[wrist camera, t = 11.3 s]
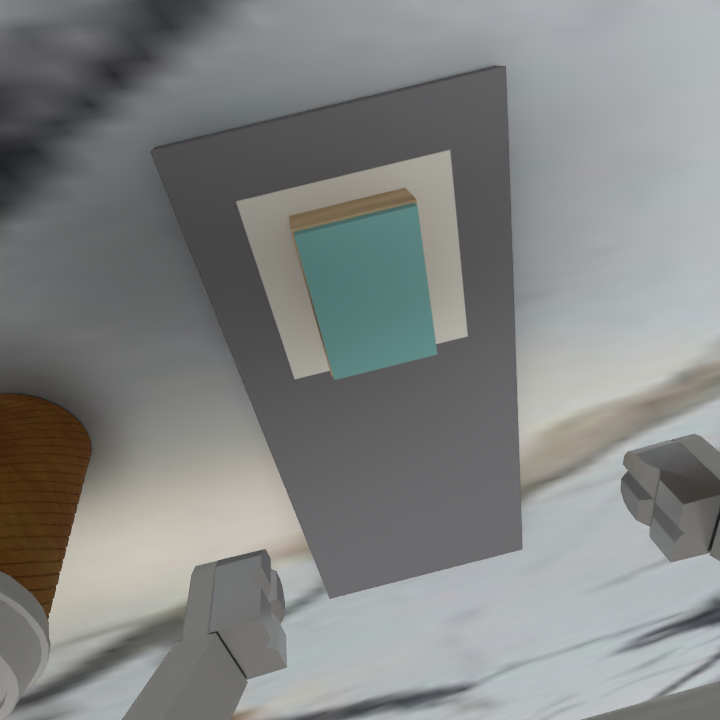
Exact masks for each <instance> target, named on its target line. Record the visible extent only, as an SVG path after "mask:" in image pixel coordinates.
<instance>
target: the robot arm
mask: <svg viewBox="0 0 720 720" xmlns="http://www.w3.org/2000/svg"><path fill="white" fill-rule="evenodd" d="M623 465H624V466H625V468H626V469H627V470H628V471H627V473H626V474H625V475H624V476H623V477H622V479H621V493H622V496H623V500H624V502H625V504H626V506H627V508H628V510H629V511H630V513H631V514H632V515H633V516H634V518H635V519H636V520H637V521H639V522H641V523H643V524H646V525H648V526H650V538H651V539H652V540H653V541H654V543H655V544H656V545H657V546H658V548H659V549H660V550H661V551H662V553H663V554H664V555H665V556H666V557H667V559H668V560H669V561H670V562H674V561H678V560H683V559H687V558H691V557H695V556H699V555H703V554H707V553H710V556H712V557H714V558H716V559H717V560H719V561H720V452H719V451H717V450H716V449H715V448H714V447H713V446H712V445H710V444H709V443H708V442H707V441H706V440H705V439H703V438H702V437H701V436H699V435H696V434H692V435H688V436H684V437H680V438H677V439H673V440H667V441H664V442H660V443H657V444H653V445H650V446H646V447H643V448H639V449H635V450H632V451H628V452H627V453H626V454H625V456H624V461H623ZM284 617H285V600H284V594H283V588H282V585H281V581H280V578H279V576H278V574H277V571H275V570H273V569H271V560H270V557H269V555H268V553H267V551H266V549H265V550H259V551H255V552H251V553H247V554H243V555H239V556H234V557H230V558H226V559H222V560H218V561H214V562H210V563H206V564H202V565H198V566H195V568H194V570H193V573H192V575H191V582H190V588H189V595H188V602H187V608H186V615H185V621H184V628H183V635H182V641H181V642H179V643H176V644H174V645H173V647H172V648H171V650H170V651H169V652H168V654H167V655H166V657H165V658H164V660H163V661H162V663H161V664H160V665H159V667H158V668H157V670H156V671H155V673H154V674H153V676H152V677H151V678H150V680H149V681H148V683H147V684H146V686H145V687H144V689H143V690H142V691H141V693H140V694H139V696H138V697H137V699H136V700H135V702H134V703H133V704H132V706H131V707H130V709H129V710H128V712H127V713H126V715H125V716H124V717H123V719H122V720H231V718H232V715H233V713H234V711H235V709H236V707H237V704H238V702H239V700H240V698H241V696H242V694H243V691H244V689H245V687H246V685H247V683H248V682H247V679H251V678H254V677H257V676H261V675H264V674H267V673H270V672H274V671H277V670H280V669H283V668H287V655H286V635H285V633H284V631H283V629H282V627H281V625H280V624H281V622H282V620H283V618H284ZM582 720H720V681H717V682H714V683H710V684H707V685H703V686H700V687H696V688H693V689H689V690H685V691H682V692H678V693H675V694H671V695H668V696H664V697H661V698H657V699H653V700H650V701H646V702H643V703H639V704H636V705H632V706H629V707H625V708H622V709H618V710H614V711H611V712H607V713H604V714H600V715H597V716H593V717H590V718H586V719H582Z"/></svg>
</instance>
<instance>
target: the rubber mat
mask: <svg viewBox="0 0 720 720" xmlns="http://www.w3.org/2000/svg"><path fill="white" fill-rule="evenodd" d="M151 154H152V156H153V159H154V161H155V164H156V166H157V169H158V171H159V174H160V176H161V179H162V181H163V184H164V186H165V189H166V191H167V194H168V196H169V199H170V201H171V204H172V206H173V209H174V211H175V214H176V216H177V219H178V221H179V224H180V226H181V229H182V231H183V234H184V236H185V239H186V241H187V244H188V246H189V249H190V251H191V254H192V256H193V259H194V261H195V264H196V266H197V269H198V271H199V274H200V276H201V279H202V281H203V284H204V286H205V289H206V291H207V294H208V296H209V299H210V301H211V304H212V306H213V308H214V311H215V313H216V316H217V318H218V321H219V323H220V326H221V328H222V331H223V333H224V336H225V338H226V341H227V343H228V346H229V348H230V351H231V353H232V356H233V358H234V361H235V363H236V366H237V368H238V371H239V373H240V376H241V378H242V381H243V383H244V386H245V388H246V391H247V393H248V396H249V398H250V401H251V403H252V406H253V408H254V411H255V413H256V416H257V418H258V421H259V423H260V426H261V428H262V431H263V433H264V436H265V438H266V441H267V443H268V446H269V448H270V451H271V453H272V456H273V458H274V461H275V463H276V466H277V468H278V471H279V473H280V476H281V478H282V481H283V483H284V486H285V488H286V491H287V493H288V496H289V498H290V500H291V503H292V505H293V508H294V510H295V513H296V515H297V518H298V520H299V523H300V525H301V528H302V530H303V533H304V535H305V538H306V540H307V543H308V545H309V548H310V550H311V553H312V555H313V558H314V560H315V563H316V565H317V568H318V570H319V573H320V575H321V578H322V580H323V583H324V585H325V588H326V590H327V593H328V595H329V598H330V599H331V598H335V597H339V596H342V595H346V594H350V593H354V592H358V591H362V590H366V589H370V588H374V587H377V586H381V585H385V584H389V583H393V582H397V581H401V580H405V579H409V578H412V577H416V576H420V575H424V574H428V573H432V572H436V571H440V570H444V569H448V568H451V567H455V566H459V565H463V564H467V563H471V562H475V561H479V560H483V559H486V558H490V557H494V556H498V555H502V554H506V553H510V552H514V551H518V550H522V522H521V493H520V463H519V434H518V405H517V376H516V347H515V318H514V289H513V260H512V230H511V201H510V172H509V143H508V114H507V85H506V66H494V67H490V68H485V69H481V70H477V71H473V72H469V73H464V74H460V75H456V76H452V77H448V78H444V79H439V80H435V81H431V82H427V83H423V84H419V85H414V86H410V87H406V88H402V89H398V90H394V91H389V92H385V93H381V94H377V95H373V96H368V97H364V98H360V99H356V100H352V101H348V102H343V103H339V104H335V105H331V106H327V107H323V108H318V109H314V110H310V111H306V112H302V113H297V114H293V115H289V116H285V117H281V118H277V119H272V120H268V121H264V122H260V123H256V124H252V125H247V126H243V127H239V128H235V129H231V130H226V131H222V132H218V133H214V134H210V135H206V136H201V137H197V138H193V139H189V140H185V141H181V142H176V143H172V144H168V145H164V146H160V147H156V148H154V149H153V150H152V151H151ZM402 188H406V189H407V190H408V191H409V192H410V193H411V194H412V195H413V196H414V197H415V198H416V200H417V206H418V214H419V221H420V229H421V236H422V243H423V251H424V258H425V266H426V273H427V280H428V288H429V295H430V303H431V310H432V317H433V325H434V332H435V340H436V347H437V355H433V356H429V357H425V358H421V359H417V360H413V361H409V362H405V363H401V364H397V365H393V366H389V367H385V368H381V369H377V370H373V371H369V372H365V373H361V374H357V375H353V376H349V377H345V378H341V379H337V380H334V378H333V376H331V373H330V369H329V366H328V362H327V359H326V355H325V351H324V348H323V344H322V341H321V337H320V334H319V330H318V326H317V323H316V319H315V316H314V312H313V309H312V305H311V301H310V298H309V294H308V291H307V287H306V284H305V280H304V276H303V273H302V269H301V266H300V262H299V259H298V255H297V251H296V248H295V244H294V241H293V237H292V234H291V230H290V219H289V216H290V215H295V214H299V213H303V212H307V211H311V210H315V209H319V208H323V207H327V206H332V205H336V204H340V203H344V202H348V201H352V200H356V199H360V198H365V197H369V196H373V195H377V194H381V193H385V192H389V191H393V190H398V189H402Z"/></svg>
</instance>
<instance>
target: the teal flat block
mask: <svg viewBox="0 0 720 720" xmlns="http://www.w3.org/2000/svg"><path fill="white" fill-rule="evenodd" d="M289 219H290V230H291V234H292V237H293V241H294V244H295V248H296V251H297V255H298V259H299V262H300V266H301V269H302V273H303V276H304V280H305V284H306V287H307V291H308V294H309V298H310V301H311V305H312V309H313V312H314V316H315V319H316V323H317V326H318V330H319V334H320V337H321V341H322V344H323V348H324V351H325V355H326V359H327V362H328V366H329V369H330V373H331V376H333V378H334V380H337V379H341V378H345V377H349V376H353V375H357V374H361V373H365V372H369V371H373V370H377V369H381V368H385V367H389V366H393V365H397V364H401V363H405V362H409V361H413V360H417V359H421V358H425V357H429V356H433V355H437V347H436V340H435V332H434V325H433V317H432V310H431V303H430V295H429V288H428V280H427V273H426V266H425V258H424V251H423V243H422V236H421V229H420V221H419V214H418V206H417V200H416V198H415V197H414V196H413V195H412V194H411V193H410V192H409V191H408V190H407V189H406V188H402V189H398V190H393V191H389V192H385V193H381V194H377V195H373V196H369V197H365V198H360V199H356V200H352V201H348V202H344V203H340V204H336V205H332V206H327V207H323V208H319V209H315V210H311V211H307V212H303V213H299V214H295V215H290V216H289Z"/></svg>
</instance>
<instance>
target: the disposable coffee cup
mask: <svg viewBox="0 0 720 720" xmlns="http://www.w3.org/2000/svg"><path fill="white" fill-rule="evenodd" d="M91 449H92V448H91V443H90V438H89V436H88V434H87V432H86V430H85V429H84V427H83V426H82V425H81V423H80V422H79V421H78V420H77V419H76V418H75V417H73V416H72V415H71V414H70V413H69V412H67V411H66V410H64V409H63V408H61V407H60V406H58V405H55V404H53V403H51V402H48V401H46V400H44V399H40V398H36V397H33V396H28V395H22V394H0V720H3V719H4V718H5V717H6V716H7V715H8V714H9V713H10V712H11V711H12V710H13V708H14V707H15V705H16V704H17V702H18V701H19V699H20V698H21V696H22V694H23V693H24V691H25V690H27V689H28V688H29V687H31V686H32V685H33V684H34V683H35V682H36V681H37V679H38V678H39V677H40V676H41V675H42V673H43V672H44V669H45V667H46V664H47V662H48V657H49V651H50V640H49V622H48V618H49V615H48V614H49V613H50V611H51V606H52V601H53V600H52V599H53V598H54V595H55V591H56V585H57V584H58V579H59V575H60V573H59V572H60V571H61V568H62V563H63V559H64V557H65V552H66V547H67V545H68V541H69V537H68V536H70V533H71V529H72V526H71V525H73V522H74V517H75V515H74V514H75V513H76V510H77V504H78V502H79V498H80V494H81V491H82V486H81V485H83V483H84V479H85V477H84V476H85V475H86V471H87V467H88V464H89V460H90V457H91Z"/></svg>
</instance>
